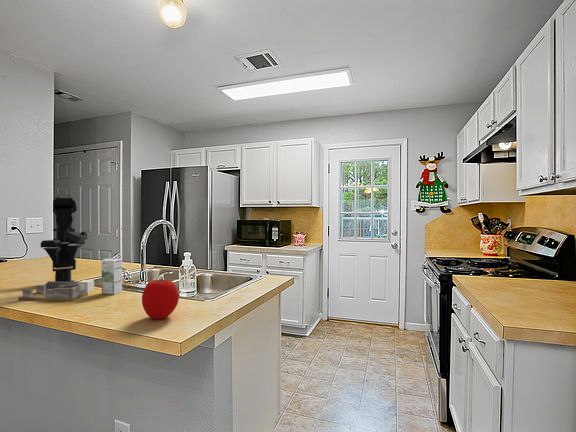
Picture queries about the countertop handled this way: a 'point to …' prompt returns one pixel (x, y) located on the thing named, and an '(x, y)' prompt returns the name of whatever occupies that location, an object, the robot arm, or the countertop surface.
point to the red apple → (160, 298)
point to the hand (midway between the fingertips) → (63, 262)
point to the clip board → (55, 293)
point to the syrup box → (111, 276)
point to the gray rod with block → (88, 283)
